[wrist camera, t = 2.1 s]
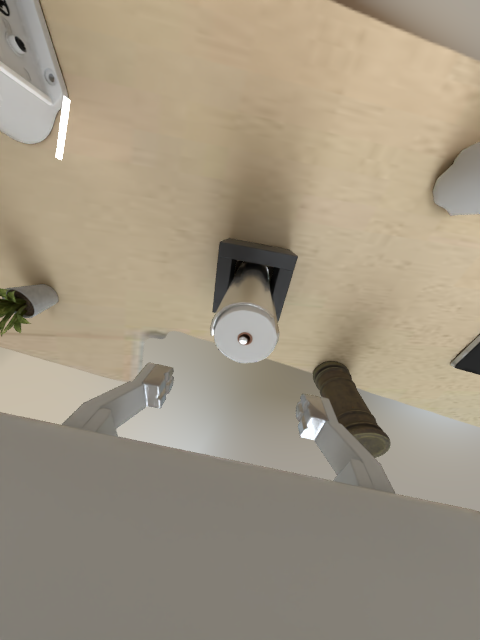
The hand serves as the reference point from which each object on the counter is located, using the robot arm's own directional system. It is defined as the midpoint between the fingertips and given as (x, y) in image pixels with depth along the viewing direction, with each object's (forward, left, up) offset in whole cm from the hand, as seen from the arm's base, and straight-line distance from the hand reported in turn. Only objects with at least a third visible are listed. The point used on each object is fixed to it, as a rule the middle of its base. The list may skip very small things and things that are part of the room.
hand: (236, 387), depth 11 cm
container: (+22, +25, -31) cm, 45 cm away
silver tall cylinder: (0, 0, -31) cm, 31 cm away
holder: (0, 0, -30) cm, 30 cm away
